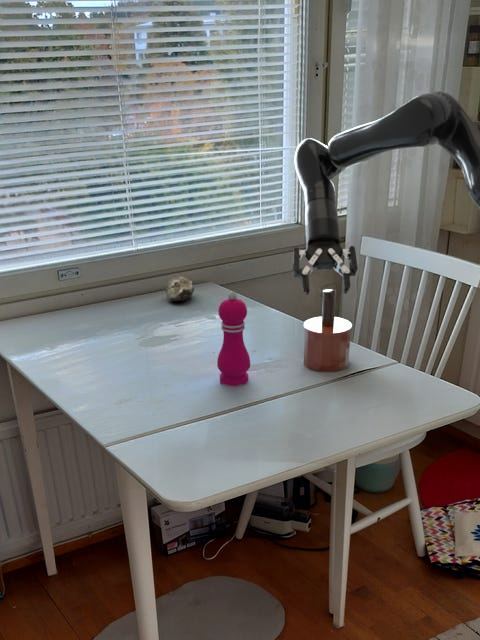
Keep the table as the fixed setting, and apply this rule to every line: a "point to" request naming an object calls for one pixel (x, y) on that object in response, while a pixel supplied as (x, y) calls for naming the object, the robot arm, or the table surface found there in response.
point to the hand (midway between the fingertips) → (326, 292)
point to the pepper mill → (233, 342)
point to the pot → (326, 352)
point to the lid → (328, 318)
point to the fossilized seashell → (179, 289)
